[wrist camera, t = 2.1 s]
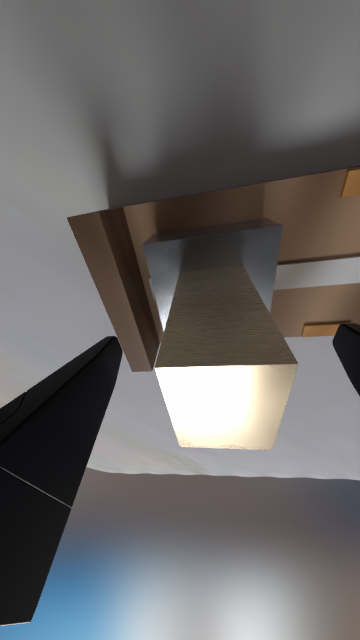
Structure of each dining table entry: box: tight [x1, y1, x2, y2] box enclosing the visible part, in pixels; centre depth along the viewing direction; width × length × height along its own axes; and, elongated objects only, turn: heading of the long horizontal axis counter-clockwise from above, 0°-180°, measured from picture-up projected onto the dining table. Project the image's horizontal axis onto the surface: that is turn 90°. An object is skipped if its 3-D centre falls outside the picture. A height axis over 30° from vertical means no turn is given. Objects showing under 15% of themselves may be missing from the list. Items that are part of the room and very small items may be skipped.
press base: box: [67, 166, 360, 372], centre depth 11 cm, size 22×10×4 cm, turn 98°
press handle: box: [142, 218, 298, 450], centre depth 9 cm, size 6×7×8 cm
